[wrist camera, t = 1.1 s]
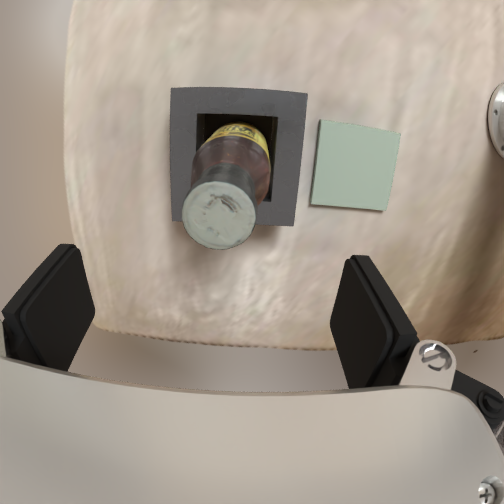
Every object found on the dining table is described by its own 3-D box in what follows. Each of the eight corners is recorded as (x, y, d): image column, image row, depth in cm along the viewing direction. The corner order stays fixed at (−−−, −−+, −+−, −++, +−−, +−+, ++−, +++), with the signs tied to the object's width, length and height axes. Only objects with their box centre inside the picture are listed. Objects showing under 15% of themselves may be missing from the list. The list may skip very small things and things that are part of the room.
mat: (397, 132, 32) (400, 133, 31) (383, 208, 37) (386, 210, 36) (319, 119, 32) (321, 120, 31) (309, 201, 36) (311, 204, 36)
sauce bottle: (255, 112, 31) (267, 135, 14) (273, 163, 34) (303, 244, 17) (199, 132, 32) (145, 182, 15) (219, 181, 35) (194, 279, 18)
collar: (297, 93, 30) (307, 93, 25) (286, 205, 37) (293, 226, 31) (183, 88, 30) (170, 88, 24) (182, 201, 36) (172, 221, 31)
